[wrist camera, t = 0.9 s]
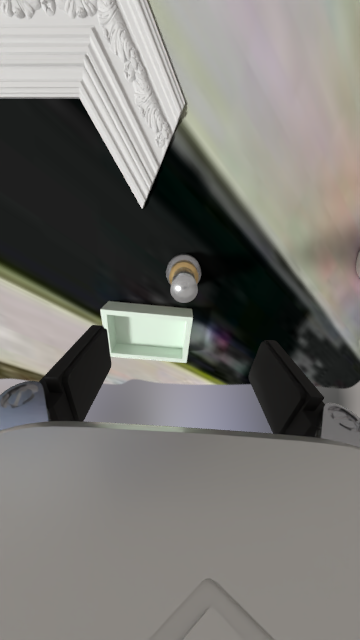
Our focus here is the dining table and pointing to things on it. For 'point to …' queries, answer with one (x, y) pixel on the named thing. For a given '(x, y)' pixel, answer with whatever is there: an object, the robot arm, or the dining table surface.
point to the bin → (147, 331)
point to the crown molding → (97, 73)
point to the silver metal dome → (183, 257)
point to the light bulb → (183, 281)
